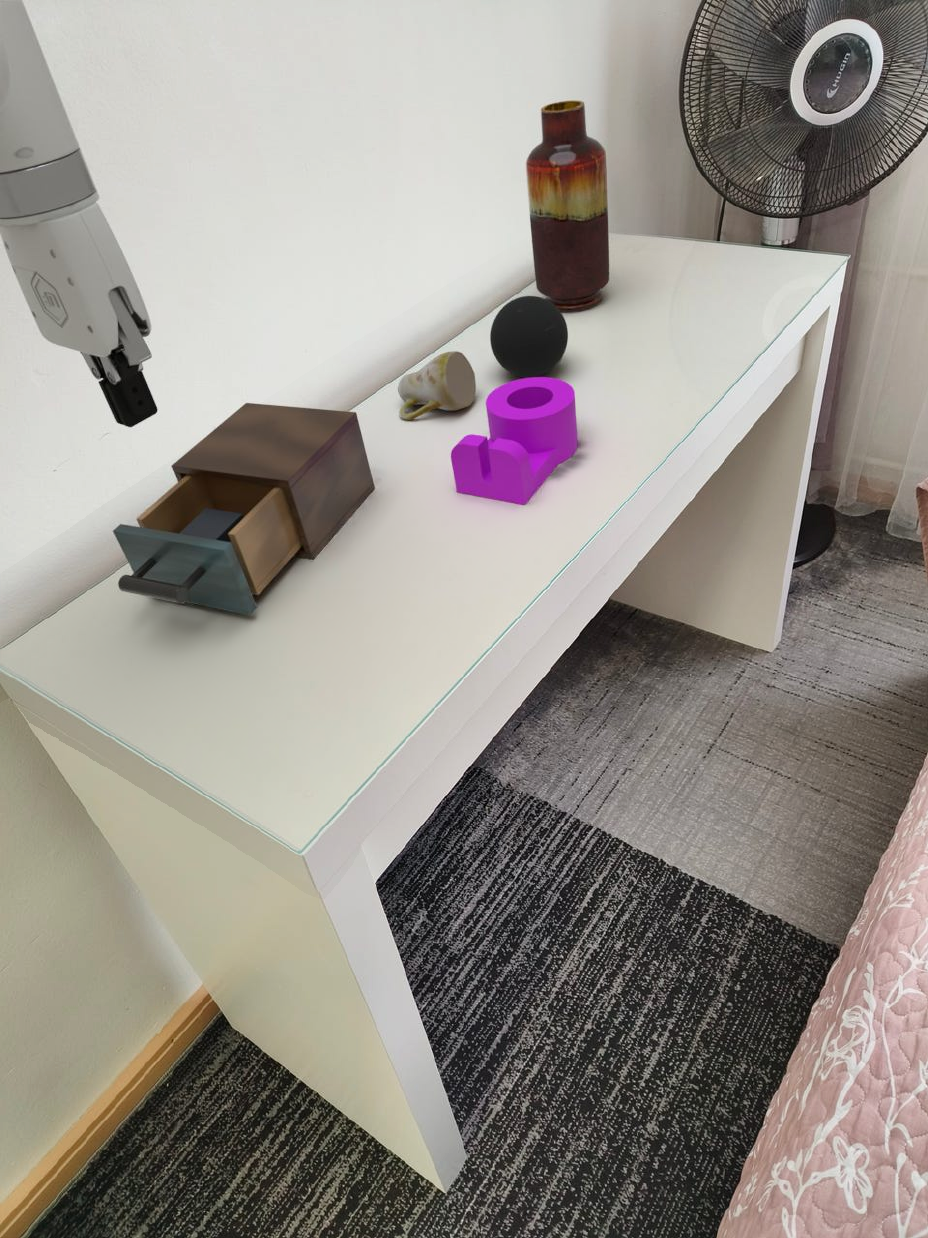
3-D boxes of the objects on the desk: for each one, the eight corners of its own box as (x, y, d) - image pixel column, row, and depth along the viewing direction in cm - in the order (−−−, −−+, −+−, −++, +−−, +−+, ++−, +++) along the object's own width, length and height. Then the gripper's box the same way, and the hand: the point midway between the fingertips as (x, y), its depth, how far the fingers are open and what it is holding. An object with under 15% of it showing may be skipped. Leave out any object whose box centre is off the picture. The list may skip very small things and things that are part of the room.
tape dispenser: (516, 421, 103) (510, 373, 99) (591, 431, 99) (588, 381, 95) (450, 490, 94) (442, 440, 90) (531, 506, 89) (525, 454, 85)
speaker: (504, 357, 118) (496, 284, 111) (576, 355, 115) (571, 281, 108) (486, 391, 111) (476, 316, 104) (562, 390, 108) (556, 313, 101)
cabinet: (313, 559, 88) (287, 480, 81) (202, 540, 93) (170, 465, 87) (375, 488, 96) (356, 411, 90) (270, 475, 102) (246, 402, 96)
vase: (542, 288, 134) (527, 101, 117) (612, 284, 132) (607, 91, 115) (532, 317, 127) (514, 120, 110) (607, 313, 124) (601, 110, 107)
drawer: (223, 646, 78) (193, 580, 73) (114, 621, 83) (79, 558, 78) (317, 538, 89) (297, 475, 84) (216, 523, 94) (192, 462, 89)
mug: (409, 391, 114) (436, 325, 108) (466, 431, 112) (496, 366, 106) (378, 404, 108) (404, 335, 102) (437, 447, 107) (467, 379, 100)
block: (230, 577, 84) (214, 540, 81) (193, 571, 86) (177, 534, 83) (256, 550, 87) (242, 513, 84) (220, 544, 88) (205, 507, 86)
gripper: (-57, 198, 63) (55, 421, 75) (45, 211, 55) (153, 458, 67) (32, 168, 67) (125, 384, 79) (140, 176, 59) (226, 415, 71)
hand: (138, 418), depth 73 cm, fingers closed
